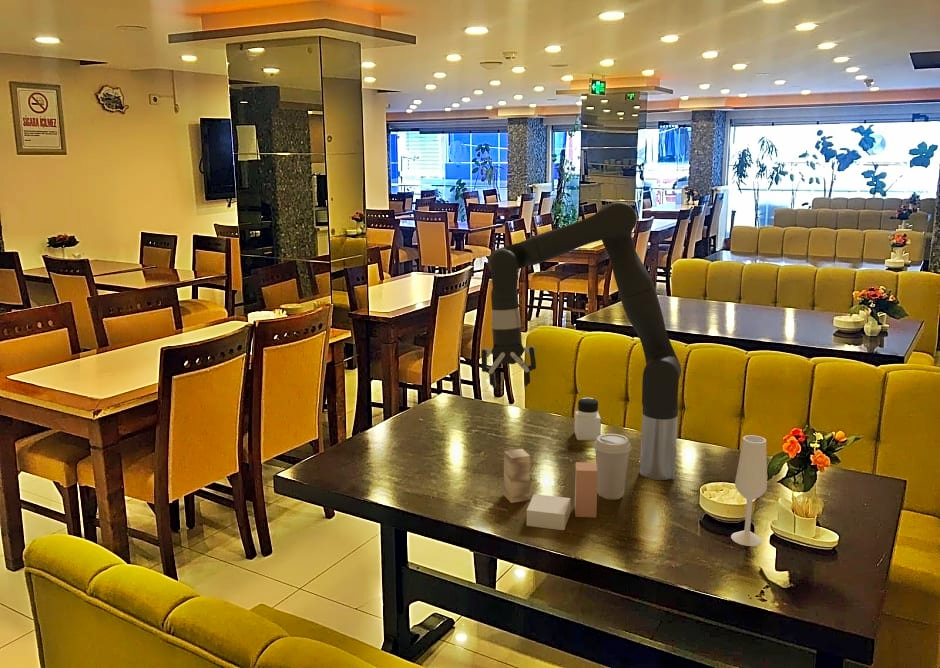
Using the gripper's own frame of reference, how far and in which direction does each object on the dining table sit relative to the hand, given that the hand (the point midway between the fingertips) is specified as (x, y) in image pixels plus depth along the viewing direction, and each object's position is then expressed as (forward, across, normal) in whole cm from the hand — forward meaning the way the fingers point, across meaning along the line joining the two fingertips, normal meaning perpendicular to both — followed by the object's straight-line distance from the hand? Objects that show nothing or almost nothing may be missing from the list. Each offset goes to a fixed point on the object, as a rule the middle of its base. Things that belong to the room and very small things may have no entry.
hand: (510, 386), depth 202 cm
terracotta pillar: (+28, -18, +18) cm, 38 cm away
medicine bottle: (+25, -20, -34) cm, 47 cm away
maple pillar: (+27, -1, +11) cm, 29 cm away
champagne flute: (+32, -54, +28) cm, 68 cm away
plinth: (+28, -9, +22) cm, 37 cm away
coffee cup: (+28, -25, +7) cm, 38 cm away
